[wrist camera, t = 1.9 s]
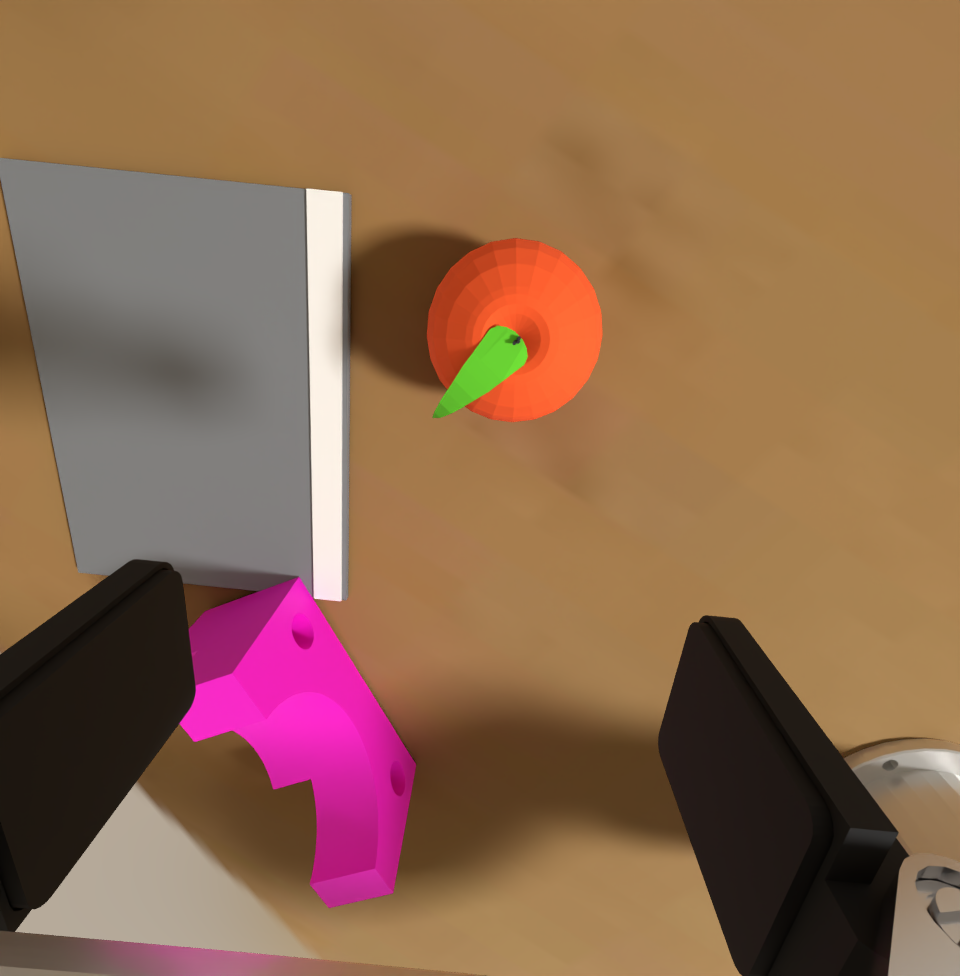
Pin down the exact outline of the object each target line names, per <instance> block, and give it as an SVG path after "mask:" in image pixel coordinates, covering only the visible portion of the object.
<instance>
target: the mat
mask: <svg viewBox="0 0 960 976" xmlns="http://www.w3.org/2000/svg"><path fill="white" fill-rule="evenodd" d="M0 179H1V184H2V189H3V194H4V199H5V204H6V209H7V214H8V220H9V225H10V230H11V235H12V240H13V245H14V250H15V255H16V260H17V265H18V270H19V275H20V280H21V285H22V290H23V295H24V300H25V305H26V310H27V315H28V320H29V325H30V331H31V336H32V341H33V346H34V351H35V356H36V361H37V366H38V371H39V376H40V381H41V386H42V391H43V396H44V401H45V406H46V411H47V416H48V421H49V426H50V431H51V436H52V442H53V447H54V452H55V457H56V462H57V467H58V472H59V477H60V482H61V487H62V492H63V497H64V502H65V507H66V512H67V517H68V522H69V527H70V532H71V537H72V542H73V547H74V552H75V558H76V563H77V568H78V572H80V573H89V574H99V575H108V576H109V575H111V574H112V573H114V572H115V571H116V570H118V569H119V568H121V567H122V566H123V565H125V564H126V563H127V562H129V561H131V560H133V559H141V560H151V561H161V562H168V563H170V564H171V565H172V567H173V568H174V571H177V572H179V573H180V574H181V576H182V581H183V583H185V584H195V585H204V586H214V587H223V588H233V589H243V590H252V591H262V590H264V589H267V588H270V587H272V586H275V585H278V584H281V583H283V582H286V581H289V580H292V579H294V578H297V577H300V579H301V580H302V582H303V584H304V585H305V587H306V588H307V590H308V592H309V593H310V595H311V596H312V597H314V599H323V600H333V601H341V600H347V598H348V548H349V426H350V303H351V195H350V194H349V193H342V192H336V191H326V190H316V189H300V188H291V187H281V186H271V185H261V184H251V183H241V182H232V181H222V180H212V179H202V178H192V177H182V176H173V175H163V174H153V173H143V172H133V171H123V170H114V169H104V168H94V167H84V166H74V165H64V164H55V163H45V162H35V161H25V160H15V159H5V158H0Z"/></svg>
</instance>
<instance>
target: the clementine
mask: <svg viewBox="0 0 960 976" xmlns="http://www.w3.org/2000/svg"><path fill="white" fill-rule="evenodd" d="M601 340H602V319H601V310H600V307H599V304H598V300H597V297H596V294H595V291H594V288H593V287H592V285H591V284H590V282H589V281H588V279H587V278H586V276H585V275H584V273H583V272H582V270H581V269H580V267H578V266H577V265H576V264H575V263H574V262H573V261H572V260H570V259H569V258H568V257H567V256H566V255H565V254H563V253H562V252H561V251H559V250H557V249H555V248H552V247H550V246H548V245H546V244H544V243H541V242H539V241H532V240H525V239H517V238H513V239H507V240H500V241H494V242H490V243H488V244H486V245H483V246H481V247H479V248H477V249H475V250H473V251H471V252H469V253H468V254H466V255H465V256H464V257H463V258H462V259H461V260H459V261H458V262H457V263H456V264H455V265H454V266H452V267H451V268H450V270H449V271H448V273H447V274H446V276H445V277H444V279H443V280H442V281H441V283H440V284H439V286H438V287H437V289H436V292H435V295H434V298H433V301H432V304H431V306H430V309H429V316H428V327H427V341H428V347H429V353H430V359H431V361H432V364H433V366H434V368H435V370H436V373H437V375H438V377H439V380H440V381H441V382H442V384H443V385H444V386H445V387H446V389H447V391H446V393H445V395H444V396H443V398H442V399H441V401H440V403H439V404H438V406H437V408H436V410H435V412H434V414H433V417H432V418H441V417H443V416H446V415H449V414H451V413H453V412H455V411H457V410H459V409H461V408H462V407H464V406H465V407H466V408H468V409H469V410H470V411H472V412H475V413H477V414H480V415H482V416H484V417H487V418H489V419H493V420H500V421H508V422H517V421H525V420H533V419H536V418H539V417H541V416H544V415H546V414H549V413H551V412H554V411H556V410H557V409H558V408H560V407H561V406H563V405H564V404H565V403H567V402H568V401H569V400H571V399H572V398H573V397H574V396H575V395H576V394H577V392H578V391H579V390H580V389H581V388H582V386H583V385H584V384H585V383H586V382H587V380H588V378H589V376H590V374H591V372H592V370H593V368H594V366H595V364H596V362H597V360H598V355H599V350H600V345H601Z"/></svg>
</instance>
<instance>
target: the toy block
mask: <svg viewBox="0 0 960 976" xmlns="http://www.w3.org/2000/svg"><path fill="white" fill-rule="evenodd" d="M189 637H190V645H191V653H192V661H193V669H194V677H195V685H196V693H195V698H194V701H193V704H192V706H191V708H190V710H189V711H188V712H187V714H186V715H185V717H184V718H183V719H182V721H181V722H180V723H179V724H180V725H181V726H182V727H183V729H184V730H185V731H186V732H187V733H188V735H189V736H190V737H191V738H192V740H193V741H194V742H196V741H200V740H203V739H206V738H209V737H212V736H216V735H219V734H222V733H225V732H228V731H234V732H236V733H238V734H239V735H241V736H242V737H243V738H244V739H246V740H247V741H248V742H249V743H250V744H251V745H252V747H253V748H254V749H255V750H256V752H257V753H258V755H259V756H260V758H261V760H262V761H263V763H264V765H265V767H266V770H267V772H268V775H269V777H270V780H271V784H272V787H273V790H274V789H278V788H281V787H285V786H288V785H292V784H296V783H299V782H303V781H306V780H310V779H311V781H312V786H313V791H314V796H315V804H316V817H317V839H316V852H315V860H314V866H313V872H312V876H311V881H310V885H311V887H312V888H313V889H314V890H315V891H316V893H317V894H318V895H319V896H320V898H321V899H322V900H323V901H324V903H325V904H326V905H327V906H328V908H331V907H336V906H340V905H344V904H349V903H353V902H358V901H362V900H366V899H371V898H375V897H379V896H384V895H388V894H393V891H394V886H395V880H396V875H397V869H398V864H399V858H400V852H401V847H402V841H403V836H404V830H405V825H406V819H407V814H408V808H409V802H410V797H411V791H412V786H413V780H414V775H415V769H416V764H415V762H414V760H413V759H412V757H411V756H410V754H409V752H408V751H407V749H406V748H405V746H404V744H403V743H402V741H401V740H400V738H399V736H398V735H397V733H396V731H395V730H394V728H393V727H392V725H391V723H390V722H389V720H388V719H387V717H386V715H385V714H384V712H383V711H382V709H381V707H380V706H379V704H378V703H377V701H376V699H375V698H374V696H373V694H372V693H371V691H370V690H369V688H368V686H367V685H366V683H365V682H364V680H363V678H362V677H361V675H360V674H359V672H358V670H357V669H356V667H355V666H354V664H353V662H352V661H351V659H350V658H349V656H348V654H347V653H346V651H345V649H344V648H343V646H342V645H341V643H340V641H339V640H338V638H337V637H336V635H335V633H334V632H333V630H332V629H331V627H330V625H329V624H328V622H327V621H326V619H325V617H324V616H323V614H322V612H321V611H320V609H319V608H318V606H317V604H316V603H315V601H314V600H313V598H312V596H311V595H310V593H309V592H308V590H307V588H306V587H305V585H304V584H303V582H302V580H301V579H300V577H297V578H294V579H292V580H289V581H286V582H283V583H281V584H278V585H275V586H272V587H270V588H267V589H264V590H262V591H259V592H256V593H253V594H251V595H248V596H245V597H242V598H240V599H237V600H234V601H231V602H229V603H226V604H223V605H221V606H218V607H215V608H212V609H210V610H207V611H205V612H204V613H203V614H202V615H201V616H200V617H199V618H198V619H197V621H196V622H195V623H194V624H193V625H192V626H191V627H190V628H189Z"/></svg>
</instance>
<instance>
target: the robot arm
mask: <svg viewBox="0 0 960 976" xmlns="http://www.w3.org/2000/svg"><path fill="white" fill-rule="evenodd" d="M195 693H196V685H195V677H194V669H193V661H192V653H191V645H190V637H189V629H188V621H187V613H186V605H185V597H184V589H183V581H182V576H181V574H180V573H179V572H177V571H174V568H173V567H172V565H171V564H170V563H168V562H161V561H151V560H141V559H133V560H131V561H129V562H127V563H126V564H125V565H123V566H122V567H121V568H119V569H118V570H116V571H115V572H114V573H112V574H111V575H109V576H108V577H107V578H105V579H104V580H103V581H101V582H100V583H98V584H97V585H96V586H94V587H93V588H92V589H90V590H89V591H87V592H86V593H85V594H83V595H82V596H81V597H79V598H78V599H76V600H75V601H74V602H72V603H71V604H69V605H68V606H67V607H65V608H64V609H63V610H61V611H60V612H58V613H57V614H56V615H54V616H53V617H52V618H50V619H49V620H47V621H46V622H45V623H43V624H42V625H41V626H39V627H38V628H36V629H35V630H34V631H32V632H31V633H29V634H28V635H27V636H25V637H24V638H23V639H21V640H20V641H18V642H17V643H16V644H14V645H13V646H12V647H10V648H9V649H7V650H6V651H5V652H3V653H2V654H1V655H0V976H486V975H477V974H466V973H456V972H445V971H435V970H424V969H414V968H403V967H393V966H382V965H372V964H362V963H351V962H341V961H330V960H319V959H309V958H298V957H286V956H276V955H266V954H255V953H245V952H244V953H243V952H233V951H223V950H212V949H201V948H190V947H178V946H167V945H156V944H144V943H133V942H122V941H111V940H99V939H87V938H77V937H64V936H54V935H43V934H31V933H20V932H15V931H16V929H17V928H18V927H19V926H20V924H21V923H22V922H23V920H24V919H25V918H26V916H27V915H28V914H29V912H30V911H31V910H32V909H37V908H39V907H41V906H42V905H43V904H45V902H47V901H48V900H49V898H50V897H51V896H52V895H53V893H54V892H55V891H56V889H57V888H58V887H59V885H60V884H61V883H62V881H63V880H64V879H65V877H66V876H67V875H68V873H69V872H70V871H71V869H72V868H73V866H74V865H75V864H76V862H77V861H78V860H79V858H80V857H81V856H82V854H83V853H84V852H85V850H86V849H87V848H88V846H89V845H90V844H91V842H92V841H93V840H94V838H95V837H96V835H97V834H98V833H99V831H100V830H101V829H102V827H103V826H104V825H105V823H106V822H107V820H108V819H109V818H110V817H111V815H112V814H113V812H114V811H115V810H116V808H117V807H118V806H119V804H120V803H121V802H122V800H123V799H124V798H125V796H126V795H127V793H128V792H129V791H130V790H131V788H132V787H133V785H134V784H135V783H136V781H137V780H138V779H139V777H140V776H141V775H142V773H143V772H144V771H145V769H146V768H147V767H148V765H149V764H150V762H151V761H152V760H153V758H154V757H155V756H156V754H157V753H158V752H159V750H160V749H161V748H162V746H163V745H164V744H165V742H166V741H167V739H168V738H169V737H170V735H171V734H172V733H173V731H174V730H175V729H176V727H177V726H178V725H179V723H180V722H181V721H182V719H183V718H184V717H185V715H186V714H187V712H188V711H189V710H190V708H191V706H192V704H193V701H194V698H195ZM658 747H659V753H660V757H661V759H662V762H663V765H664V768H665V771H666V774H667V776H668V779H669V782H670V785H671V788H672V790H673V793H674V796H675V799H676V802H677V804H678V807H679V810H680V813H681V816H682V819H683V821H684V824H685V827H686V830H687V833H688V835H689V838H690V841H691V844H692V847H693V850H694V852H695V855H696V858H697V861H698V864H699V866H700V869H701V872H702V875H703V878H704V880H705V883H706V886H707V889H708V892H709V895H710V897H711V900H712V903H713V906H714V909H715V911H716V914H717V917H718V920H719V923H720V925H721V928H722V931H723V934H724V937H725V940H726V942H727V945H728V948H729V951H730V954H731V956H732V959H733V962H734V964H735V966H736V968H737V970H738V971H739V973H740V974H741V975H742V976H960V744H957V743H953V742H949V741H946V740H937V739H927V738H921V739H902V740H897V741H891V742H885V743H881V744H878V745H875V746H872V747H868V748H865V749H862V750H860V751H858V752H856V753H854V754H851V755H849V756H847V757H845V758H843V757H842V756H841V754H840V753H839V752H838V750H837V749H836V748H835V746H834V745H833V744H832V742H831V741H830V740H829V738H828V737H827V736H826V734H825V733H824V732H823V730H822V729H821V728H820V726H819V725H818V724H817V722H816V721H815V720H814V718H813V717H812V716H811V714H810V713H809V712H808V710H807V709H806V708H805V706H804V705H803V704H802V702H801V701H800V700H799V698H798V697H797V696H796V694H795V693H794V692H793V690H792V689H791V688H790V686H789V685H788V684H787V682H786V681H785V680H784V678H783V677H782V676H781V674H780V673H779V672H778V670H777V669H776V668H775V666H774V665H773V664H772V662H771V661H770V660H769V658H768V657H767V656H766V654H765V653H764V652H763V650H762V649H761V648H760V646H759V645H758V644H757V642H756V641H755V640H754V638H753V637H752V636H751V634H750V633H749V632H748V630H747V629H746V628H745V626H744V625H743V624H742V622H741V621H740V620H739V619H736V618H728V617H717V616H707V615H705V616H703V617H702V618H701V619H700V621H699V623H697V622H694V623H692V624H691V625H690V627H689V630H688V633H687V637H686V640H685V644H684V647H683V651H682V654H681V658H680V661H679V665H678V668H677V672H676V675H675V679H674V682H673V686H672V689H671V693H670V696H669V700H668V703H667V707H666V710H665V714H664V718H663V721H662V725H661V728H660V732H659V737H658Z"/></svg>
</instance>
